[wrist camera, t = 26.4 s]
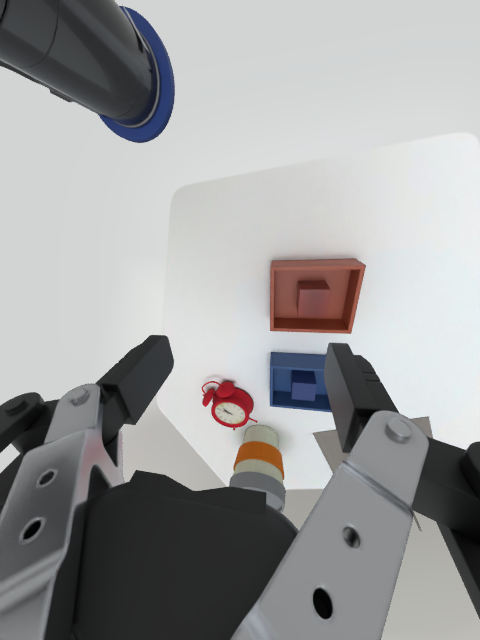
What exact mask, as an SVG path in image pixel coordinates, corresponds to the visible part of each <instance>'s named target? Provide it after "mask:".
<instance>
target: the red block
mask: <svg viewBox="0 0 480 640" xmlns="http://www.w3.org/2000/svg"><path fill="white" fill-rule="evenodd" d="M330 293H331V289H330V287H329V286H328V284H327V282H326V281H298V285H297V300H296V307H297V313H298V316H327V314H328V307H329V300H330Z"/></svg>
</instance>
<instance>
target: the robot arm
mask: <svg viewBox="0 0 480 640" xmlns="http://www.w3.org/2000/svg"><path fill="white" fill-rule="evenodd" d="M123 7H124V6H123ZM124 9H125V7H124ZM125 11H126V13H127V15H128V17H129V18H130V20H131V21H130V20H129V19H128V17H127V16H126V15H125V13H124V12H123V11H122V9H121V8H120V7H119V6H118V4H116V2H115V1H114V0H0V66H2V67H5V68H7V69H10V70H12V71H14V72H16V73H18V74H20V75H22V76H24V77H26V78H28V79H30V80H32V81H34V82H36V83H38V84H41V85H43V86H45V87H47V88H49V90H50V92H51V93H52V94H54V95H56V96H58V97H60V98H62V99H64V100H66V101H68V102H76V103H78V104H80V105H82V106H83V107H85V108H87V109H90V110H91V111H93V112H95V113H97V114H99V115H101V116H103V117H105V118H110V119H112V120H113V121H114V122H116V123H118V124H120V125H121V126H124V127H126V128H130V129H137V128H141V127H143V126H145V125H146V124H148V123H149V122H150V121H151V120H152V118H153V117H154V115H155V113H156V111H157V109H158V106H159V102H160V97H161V76H160V70H159V66H158V62H157V59H156V56H155V54H154V52H153V50H152V48H151V46H150V44H149V42H148V41H147V40H146V38H145V37H144V36H143V34H142V33H141V32H140V31H139V30H138V29H137V28H136V26H135V24H134V22H133V20H132V18H131V16H130V14H129V13H128V11H127V10H126V9H125ZM173 365H174V359H173V355H172V351H171V347H170V344H169V340H168V337H167V336H164V335H150V336H149V337H148V338H147V339H146V340H145V341H144V342H143V343H142V344H140V345H138V346H137V347H135V348H133V349H131V350H130V351H129V352H128V353H127V354H126V355H125V356H124V358H122V359H121V360H120V361H119V363H117V364H115V365H114V367H112V368H111V369H110V370H109V371H108V372H107V373H106V374H105V375H104V376H103V377H102V378H101V379H100V380H98V381H97V382H96V383H95V384H85V385H81V386H79V387H76V388H74V389H72V390H71V391H69V392H68V393H66V394H65V395H64V396H63V397H62V398H61V399H58V400H52V401H46V402H44V400H43V399H42V397H41V396H40V395H39V394H38V393H35V392H33V393H26V394H22V395H19V396H17V397H15V398H13V399H10V400H9V401H7V402H5V403H4V404H2V405H1V406H0V453H1V452H2V451H3V450H4V449H5V448H6V447H7V446H8V445H9V444H10V443H11V444H12V445H13V446H14V447H15V448H16V449H17V450H18V451H19V452H20V455H19V456H18V457H17V458H16V459H14V461H12V463H10V464H9V465H8V466H7V467H6V468H5V469H4V470H3V471H2V472H1V473H0V640H381V637H382V633H383V629H384V626H385V622H386V618H387V615H388V611H389V607H390V603H391V600H392V596H393V592H394V589H395V585H396V581H397V578H398V574H399V570H400V566H401V563H402V559H403V555H404V552H405V548H406V544H407V541H408V536H409V533H410V529H411V526H412V521H413V511H411V509H412V510H414V511H416V512H418V513H420V514H422V515H424V516H426V517H428V518H430V519H432V520H434V521H436V522H437V524H438V526H439V529H440V531H441V533H442V536H443V538H444V540H445V542H446V545H447V547H448V549H449V551H450V554H451V556H452V558H453V560H454V563H455V565H456V567H457V569H458V571H459V574H460V576H461V578H462V581H463V582H464V585H465V587H466V589H467V591H468V594H469V596H470V598H471V600H472V603H473V605H474V607H475V609H476V612H477V614H478V616H479V619H480V442H475V443H472V444H471V445H470V446H469V447H468V449H467V450H464V449H461V448H458V447H455V446H452V445H449V444H446V443H443V442H440V441H438V440H435V439H432V438H430V437H428V436H426V435H425V433H424V431H423V430H422V429H421V428H420V427H419V426H418V425H417V424H416V423H415V422H413V421H412V420H410V419H409V418H407V417H405V416H404V415H401V414H399V412H398V410H397V408H396V407H395V405H394V403H393V401H392V400H391V398H390V396H389V395H388V393H387V391H386V389H385V388H384V386H383V384H382V383H381V382H380V379H379V377H378V376H377V374H376V372H375V370H374V369H373V367H372V365H371V364H370V363H369V362H368V361H367V360H366V359H364V358H363V357H362V356H361V355H353V353H352V351H351V349H350V347H349V345H348V344H347V343H329V344H328V348H327V355H326V361H325V367H324V381H325V386H326V390H327V394H328V398H329V402H330V406H331V410H332V413H333V417H334V421H335V425H336V429H337V433H338V437H339V441H340V445H341V449H342V453H349V456H348V457H347V459H346V460H345V461H344V460H343V461H342V462H341V463H340V464H339V466H338V467H337V469H336V471H335V472H334V474H333V476H332V477H331V479H330V481H329V482H328V484H327V486H326V487H325V489H324V491H323V492H322V494H321V496H320V497H319V499H318V501H317V503H316V504H315V506H314V507H313V509H312V511H311V513H310V514H309V516H308V518H307V519H306V521H305V522H304V524H303V526H302V527H301V529H300V531H299V530H298V529H297V528H296V527H295V526H294V525H293V523H292V522H290V520H288V519H287V518H286V517H285V516H284V515H283V514H281V513H280V512H279V511H278V510H276V509H275V508H273V507H271V506H269V505H268V504H267V493H266V492H261V491H256V490H250V489H244V488H238V487H232V486H231V487H224V488H217V489H209V490H202V491H192V490H190V489H189V488H187V487H185V486H183V485H182V484H180V483H178V482H176V481H174V480H173V479H171V478H169V477H167V476H166V475H162V474H156V473H150V472H144V471H138V470H136V471H135V473H134V474H133V476H132V478H131V480H130V482H126V483H125V481H124V477H123V460H122V459H123V456H122V455H123V453H122V431H121V427H122V426H123V424H131V425H136V423H137V421H138V420H139V419H140V417H141V416H142V414H143V412H144V411H145V410H146V408H147V407H148V405H149V404H150V402H151V401H152V399H153V398H154V396H155V395H156V393H157V392H158V390H159V389H160V387H161V386H162V384H163V383H164V381H165V380H166V379H167V377H168V376H169V374H170V373H171V371H172V369H173Z"/></svg>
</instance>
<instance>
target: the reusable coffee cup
mask: <svg viewBox="0 0 480 640" xmlns="http://www.w3.org/2000/svg"><path fill="white" fill-rule="evenodd" d="M283 480H284V470H283V462H282V456H281V453H280V451H279V443H278V436H277V434H276V432H275V431H274V430H272V429H271V428H269V427H266V426H261V425H256V426H251V427H249V428H248V429H247V430H246V433H245V436H244V440H243V443H242V445H241V446H240V448H239V451H238V454H237V457H236V461H235V464H234V474H233V476H232V477H231V479H230V485H229V487H231V486H232V487H238V488H244V489H250V490H256V491H261V492H266V493H267V504H268V505H269V506H271V507H273V508H275V509H276V510H278V511H279V512H280V513H281V512H283V510H284V505H285V493H286V491H285V488H284V485H283Z"/></svg>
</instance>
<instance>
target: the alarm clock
mask: <svg viewBox="0 0 480 640" xmlns="http://www.w3.org/2000/svg"><path fill="white" fill-rule="evenodd" d="M212 382H213V383H217V382H215V381H211V382H208V383H212ZM208 383H206V384H208ZM206 384H204V385H203V386H202V391H203V392H204V390H203V387H204V386H205V385H206ZM217 384H219V383H217ZM219 385H220V386H219V387H218V389H217V391H215V390H213V389H210V390H208V392H207V393H205V392H204V393H205V395H204V394H203V396H204V398H203V402H202V403H203V405H204V406H205V407H206V406H207V405H208V404H209V402H210V401H211V399H212V397H213V405H212V408H211V413H212V416H213V418H214V419H215V420H216V421H217V422H218V423H220V424H222V425H224V426H226V427H231V428H234V429H233V430H235V428H237V427H241V426H243V425H245V424H246V423H247V421H248V420H249V419H250V420H253V419H251V418H249V414H250V413H251V412H252V410H253V401H252V399H251V397H250V396H249V395H248V394H247V393H245V392H244V391H242V390H240V389H237V388H235V387H234V384H233V383H231V382H224V383H222V384H219ZM214 392H215V394H214ZM253 421H255V420H253ZM255 422H256V423H257V421H255Z"/></svg>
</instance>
